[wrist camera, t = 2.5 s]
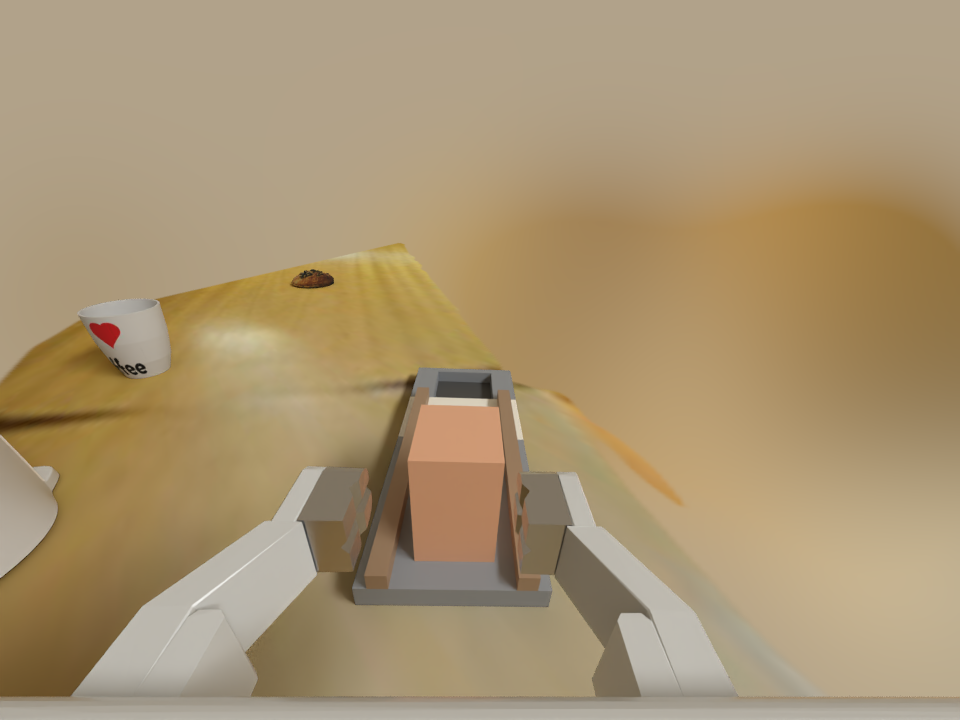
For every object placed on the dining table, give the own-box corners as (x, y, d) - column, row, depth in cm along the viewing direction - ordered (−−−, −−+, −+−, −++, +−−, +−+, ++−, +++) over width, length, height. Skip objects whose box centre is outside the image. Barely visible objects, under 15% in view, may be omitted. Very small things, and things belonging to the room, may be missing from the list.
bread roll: (337, 286, 96) (332, 268, 93) (295, 295, 92) (288, 277, 89) (331, 278, 105) (326, 262, 102) (293, 287, 100) (286, 270, 98)
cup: (99, 376, 49) (63, 310, 45) (163, 354, 56) (137, 295, 51) (132, 389, 47) (98, 321, 42) (195, 364, 53) (172, 303, 49)
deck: (355, 604, 24) (349, 575, 23) (419, 378, 53) (419, 358, 51) (548, 606, 25) (555, 578, 23) (508, 381, 53) (510, 362, 52)
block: (414, 560, 25) (407, 460, 21) (424, 495, 31) (421, 404, 26) (494, 562, 25) (504, 463, 21) (490, 497, 31) (498, 406, 26)
